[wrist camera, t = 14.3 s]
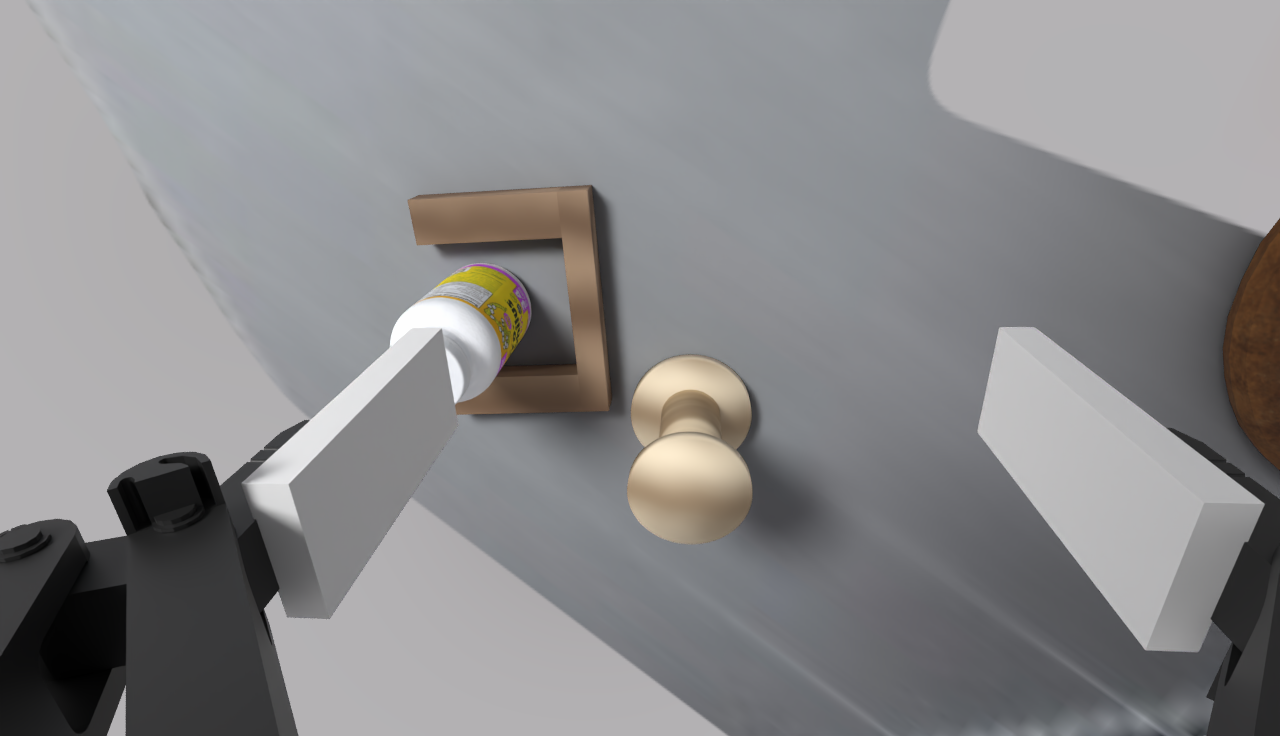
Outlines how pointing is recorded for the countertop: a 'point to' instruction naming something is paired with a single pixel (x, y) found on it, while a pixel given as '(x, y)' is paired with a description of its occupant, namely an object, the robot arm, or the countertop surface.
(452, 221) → the notch board
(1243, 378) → the bread
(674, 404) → the bobbin
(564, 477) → the countertop surface
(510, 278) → the supplement bottle
